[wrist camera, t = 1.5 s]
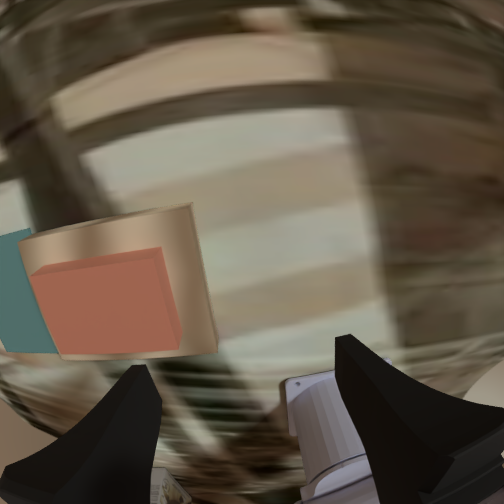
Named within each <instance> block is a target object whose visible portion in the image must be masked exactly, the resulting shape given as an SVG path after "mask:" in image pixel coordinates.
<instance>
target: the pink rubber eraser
mask: <svg viewBox="0 0 504 504" xmlns="http://www.w3.org/2000/svg"><path fill="white" fill-rule="evenodd" d="M29 277H30V280H31V283H32V286H33V289H34V291H35V294H36V297H37V300H38V302H39V305H40V307H41V310H42V312H43V315H44V317H45V320H46V322H47V325H48V327H49V329H50V331H51V334H52V336H53V338H54V340H55V343H56V345H57V347H58V349H59V351H60V353H61V354H115V353H137V352H154V351H168V350H179V345H180V341H181V337H182V333H183V331H182V328H181V324H180V320H179V317H178V313H177V309H176V305H175V301H174V297H173V294H172V290H171V286H170V281H169V277H168V273H167V269H166V265H165V260H164V256H163V251H162V247H155V248H148V249H142V250H135V251H129V252H122V253H116V254H110V255H103V256H97V257H91V258H85V259H79V260H73V261H67V262H61V263H55V264H49V265H44V266H42V267H41V268H40V269H38V270H37V271H36V272H35V273H33V274H32V275H31V276H29Z"/></svg>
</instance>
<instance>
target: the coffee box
mask: <svg viewBox="0 0 504 504" xmlns="http://www.w3.org/2000/svg"><path fill="white" fill-rule="evenodd" d="M150 504H191V497H190V495H189V494H188V493H187V492H186V491H185V490H184V489H183V488H182V487H181V486H180V485H179V483H178V482H177V481H176V480H175V479H174V478H173V476H172V475H171V474H170V473H169V472H168V471H167V469H166V468H152V473H151V490H150Z"/></svg>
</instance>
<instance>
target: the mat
mask: <svg viewBox="0 0 504 504" xmlns="http://www.w3.org/2000/svg"><path fill="white" fill-rule="evenodd" d="M29 235H31V230H30V228H28V229H24V230H20V231H17V232H13V233H9V234H6V235H2V236H0V339H1V341H2V343H3V345H4V347H5V349H6V351H7V352H25V353H59V352H58V350H57V348H56V346H55V344H54V342H53V340H52V337H51V335H50V333H49V331H48V328H47V326H46V324H45V321H44V319H43V316H42V314H41V312H40V309H39V306H38V304H37V301H36V299H35V296H34V293H33V291H32V288H31V285H30V282H29V279H28V276H27V273H26V270H25V267H24V264H23V261H22V257H21V254H20V251H19V247H18V243H17V242H18V241H20V240H22V239H24V238H26V237H27V236H29Z"/></svg>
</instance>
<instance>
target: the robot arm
mask: <svg viewBox="0 0 504 504" xmlns="http://www.w3.org/2000/svg"><path fill="white" fill-rule="evenodd" d="M391 364H392V362H391V360H390V359H389V358H385V359H382V358H381V357H379V356H378V355H377V354H375V353H374V352H373V351H371V350H370V349H369V348H368V347H366V346H365V345H364V344H363V343H361V342H360V341H359V340H358V339H356V338H355V337H354V336H353V335H351V334H348V335H343V336H339V337H335V370H333V371H329V372H324V373H318V374H313V375H308V376H302V377H296V378H290V379H288V380H286V381H285V392H286V403H287V414H288V426H289V434H290V436H297V437H298V442H299V447H300V451H301V456H302V461H303V466H304V470H305V475H306V480H307V486H305V487H302V488H301V489H300V491H301V496H302V500H300V501H297V502H296V503H295V504H504V468H503V467H502V464H503V463H504V458H503V457H502V455H501V453H502V452H503V450H504V408H502V407H495V406H489V405H483V404H478V403H474V402H470V401H466V400H463V399H459V398H456V397H453V396H450V395H448V394H445V393H442V392H440V391H437V390H435V389H433V388H430V387H428V386H426V385H424V384H422V383H420V382H418V381H416V380H414V379H413V378H411V377H409V376H407V375H406V374H404V373H403V372H401V371H399V370H398V369H396V368H395V367H393V366H392V365H391ZM296 382H299V383H297V384H295V383H296ZM161 413H162V399H161V397H160V395H159V393H158V391H157V388H156V386H155V384H154V382H153V380H152V377H151V375H150V373H149V371H148V368H147V366H146V364H145V365H132V366H131V367H130V368H129V369H128V370H127V371H126V372H125V373H124V374H123V375H122V377H121V378H120V379H119V380H118V381H117V382H116V384H115V385H114V386H113V387H112V388H111V389H110V391H109V392H108V393H107V394H106V395H105V396H104V397H103V398H102V400H101V401H100V402H99V403H98V404H97V405H96V406H95V407H94V408H93V409H92V410H91V411H90V412H89V413H88V414H87V415H86V416H85V417H84V418H83V419H82V420H81V421H80V422H79V423H78V424H76V425H75V426H74V427H73V428H72V429H70V430H69V431H68V432H67V433H65V434H64V435H63V436H61V437H60V438H58V439H57V440H56V441H54V442H53V443H51V444H50V445H48V446H47V447H45V448H43V449H42V450H40V451H38V452H36V453H35V454H33V455H31V456H29V457H27V458H25V459H22V460H20V461H17V462H15V463H13V464H10V465H8V466H6V467H5V469H4V471H3V474H2V476H1V478H0V497H1V498H2V499H3V500H4V501H6V502H7V503H8V504H150V490H151V473H152V466H153V461H154V455H155V450H156V445H157V440H158V435H159V429H160V424H161Z"/></svg>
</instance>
